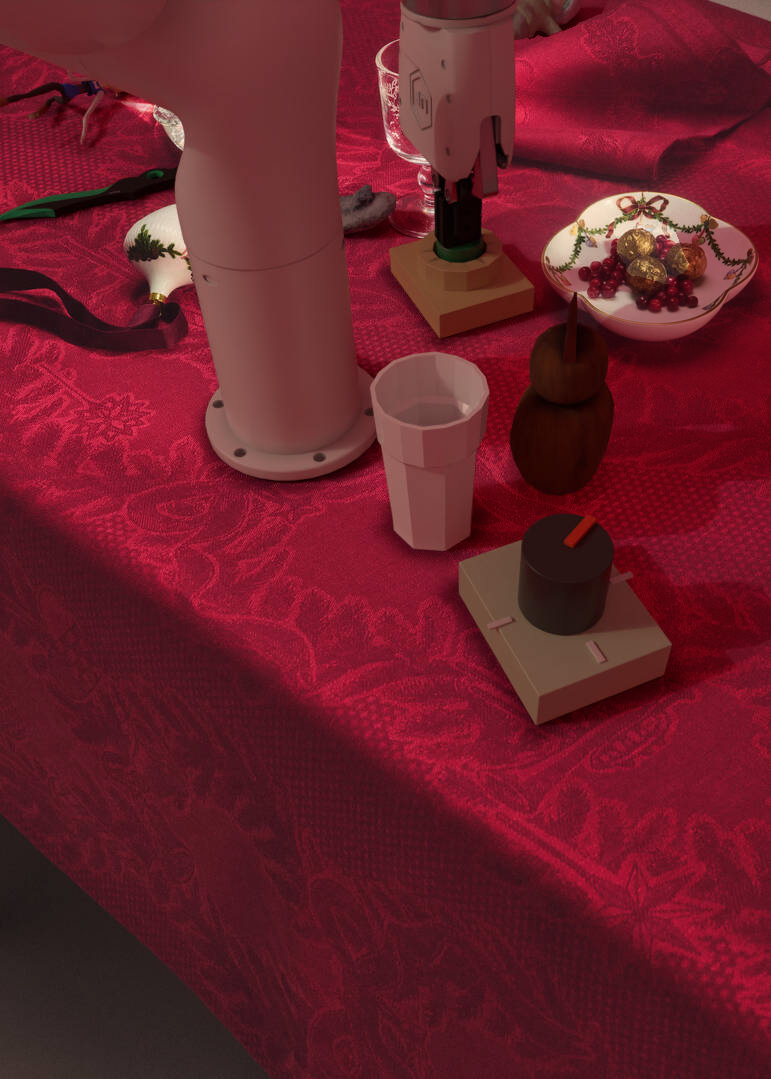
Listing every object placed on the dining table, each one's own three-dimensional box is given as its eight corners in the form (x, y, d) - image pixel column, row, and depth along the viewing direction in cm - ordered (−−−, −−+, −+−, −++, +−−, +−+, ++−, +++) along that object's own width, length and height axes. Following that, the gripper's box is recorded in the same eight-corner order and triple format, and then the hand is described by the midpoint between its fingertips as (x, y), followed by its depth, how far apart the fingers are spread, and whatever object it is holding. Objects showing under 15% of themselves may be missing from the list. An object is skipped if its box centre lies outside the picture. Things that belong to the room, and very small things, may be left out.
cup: (362, 537, 63) (347, 406, 55) (414, 471, 67) (407, 340, 59) (454, 575, 61) (453, 444, 53) (502, 505, 65) (508, 372, 56)
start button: (429, 251, 79) (428, 232, 77) (470, 240, 79) (471, 220, 78) (448, 275, 76) (448, 255, 75) (490, 263, 77) (491, 243, 76)
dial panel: (450, 596, 60) (450, 562, 58) (583, 548, 62) (587, 514, 59) (527, 729, 54) (530, 698, 51) (672, 672, 55) (681, 639, 53)
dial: (574, 650, 53) (583, 594, 49) (500, 607, 55) (503, 550, 52) (621, 593, 55) (632, 535, 52) (548, 554, 58) (554, 496, 54)
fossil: (292, 210, 85) (311, 174, 88) (304, 243, 88) (322, 208, 90) (383, 208, 82) (399, 171, 85) (393, 242, 85) (408, 205, 87)
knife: (227, 145, 97) (238, 169, 94) (228, 153, 97) (240, 177, 94) (-16, 197, 93) (-13, 224, 90) (-13, 205, 93) (-10, 232, 90)
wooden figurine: (576, 522, 63) (601, 330, 52) (495, 491, 65) (501, 301, 54) (618, 456, 67) (650, 263, 55) (540, 429, 69) (555, 238, 58)
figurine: (172, 16, 101) (6, 71, 90) (185, 103, 107) (31, 165, 96) (106, -1, 106) (-59, 49, 95) (123, 83, 112) (-31, 140, 101)
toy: (453, -8, 105) (547, -68, 110) (442, 32, 110) (532, -26, 115) (525, 60, 104) (617, -3, 109) (511, 98, 109) (599, 36, 114)
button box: (390, 271, 82) (388, 228, 79) (478, 246, 84) (478, 203, 81) (439, 338, 76) (438, 295, 73) (533, 310, 78) (536, 266, 75)
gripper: (361, -45, 67) (376, 205, 80) (453, 36, 57) (453, 304, 71) (463, -65, 68) (461, 183, 82) (569, 10, 59) (547, 277, 73)
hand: (457, 239), depth 76 cm, fingers closed
